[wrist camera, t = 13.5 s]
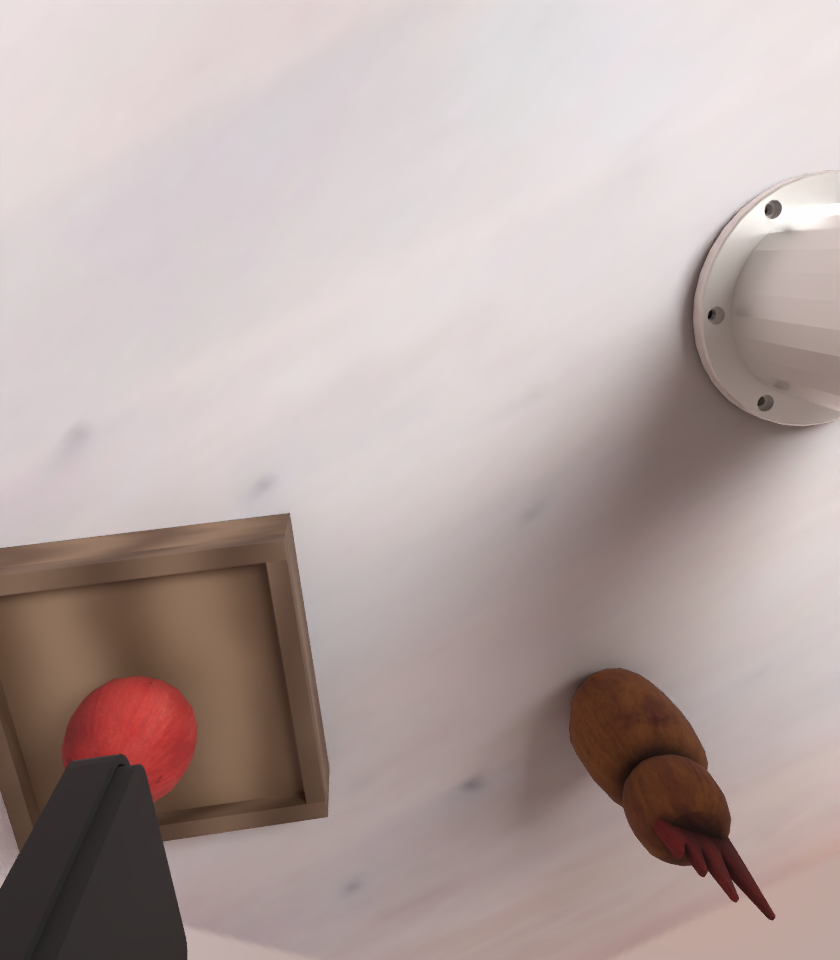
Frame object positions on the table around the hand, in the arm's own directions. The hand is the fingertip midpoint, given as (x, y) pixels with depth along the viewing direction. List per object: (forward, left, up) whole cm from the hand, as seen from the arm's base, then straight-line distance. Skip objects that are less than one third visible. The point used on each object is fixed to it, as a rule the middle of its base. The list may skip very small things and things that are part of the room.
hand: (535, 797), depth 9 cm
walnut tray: (+14, +14, -30) cm, 36 cm away
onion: (+14, +14, -28) cm, 34 cm away
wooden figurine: (-11, +20, -31) cm, 38 cm away
